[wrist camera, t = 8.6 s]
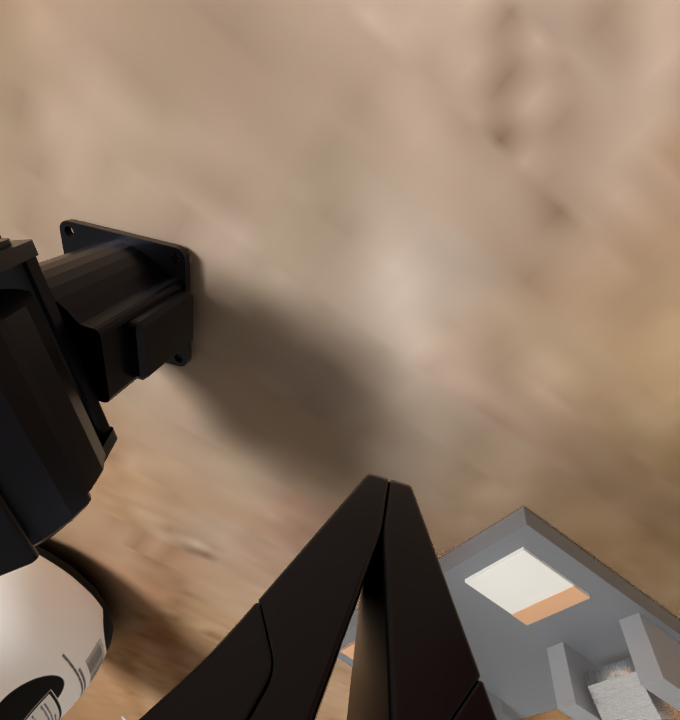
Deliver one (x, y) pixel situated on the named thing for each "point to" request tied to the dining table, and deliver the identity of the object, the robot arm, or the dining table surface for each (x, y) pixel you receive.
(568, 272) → the dining table surface
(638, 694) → the lever
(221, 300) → the dining table surface
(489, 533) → the switch box
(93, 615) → the milk container
